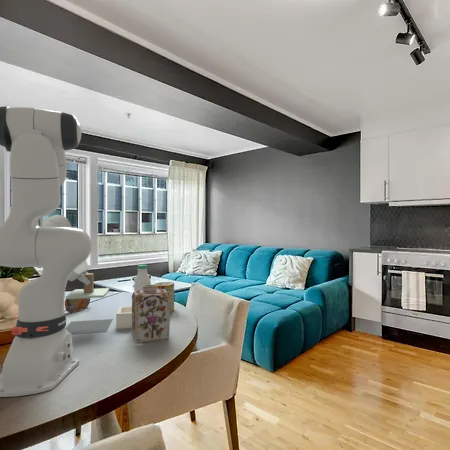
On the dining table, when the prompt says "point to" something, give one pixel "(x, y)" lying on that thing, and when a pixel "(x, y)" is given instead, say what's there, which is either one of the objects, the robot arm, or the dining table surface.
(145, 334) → the decorative jar
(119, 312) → the dish
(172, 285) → the yellow labeled can
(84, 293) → the lid
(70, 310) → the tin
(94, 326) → the mat
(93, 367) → the dining table surface
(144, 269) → the milk bottle
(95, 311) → the dining table surface
